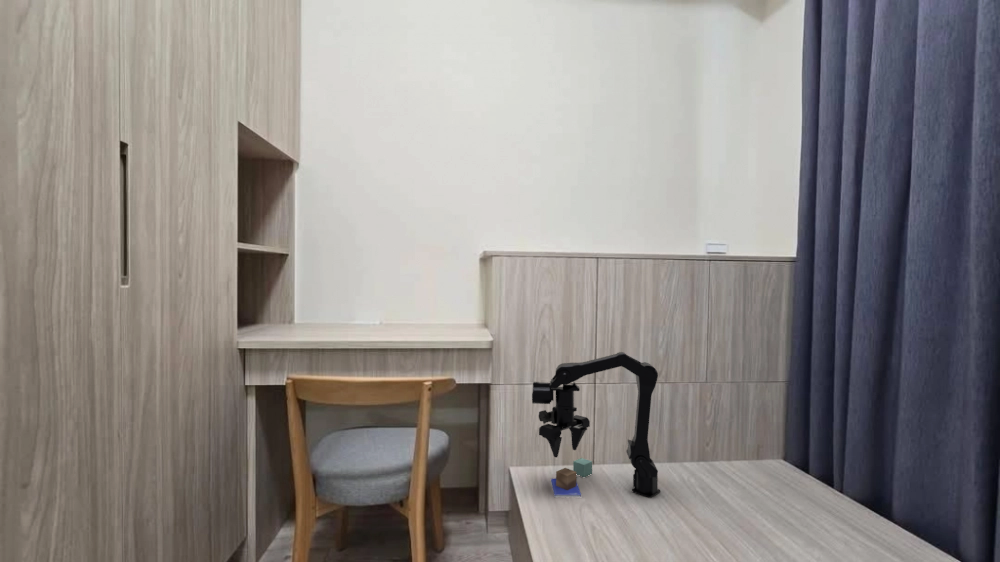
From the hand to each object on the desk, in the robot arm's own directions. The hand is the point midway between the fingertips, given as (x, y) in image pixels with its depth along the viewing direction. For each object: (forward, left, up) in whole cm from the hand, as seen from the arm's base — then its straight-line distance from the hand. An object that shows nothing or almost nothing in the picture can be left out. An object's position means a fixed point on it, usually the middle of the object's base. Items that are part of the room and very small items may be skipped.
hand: (565, 453), depth 152 cm
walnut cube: (0, 0, -10) cm, 10 cm away
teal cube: (+3, -13, -11) cm, 17 cm away
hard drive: (0, 0, -12) cm, 12 cm away
